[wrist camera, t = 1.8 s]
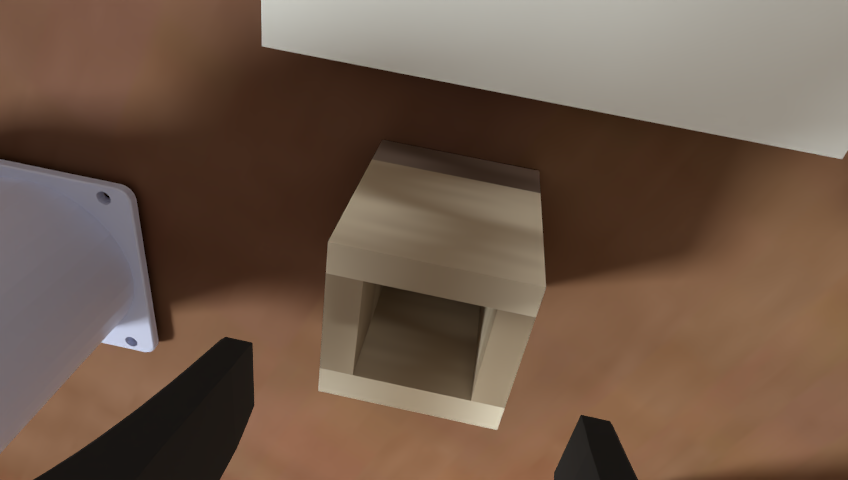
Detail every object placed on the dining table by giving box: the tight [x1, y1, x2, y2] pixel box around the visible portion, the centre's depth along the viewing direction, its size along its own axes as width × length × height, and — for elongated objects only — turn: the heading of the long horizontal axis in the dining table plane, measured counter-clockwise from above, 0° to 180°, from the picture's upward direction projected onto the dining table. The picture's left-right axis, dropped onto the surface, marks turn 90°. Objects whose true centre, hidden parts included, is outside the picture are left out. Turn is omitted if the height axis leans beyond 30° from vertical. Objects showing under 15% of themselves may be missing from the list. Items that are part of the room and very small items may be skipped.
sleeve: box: [318, 140, 546, 430], centre depth 17 cm, size 5×5×6 cm
